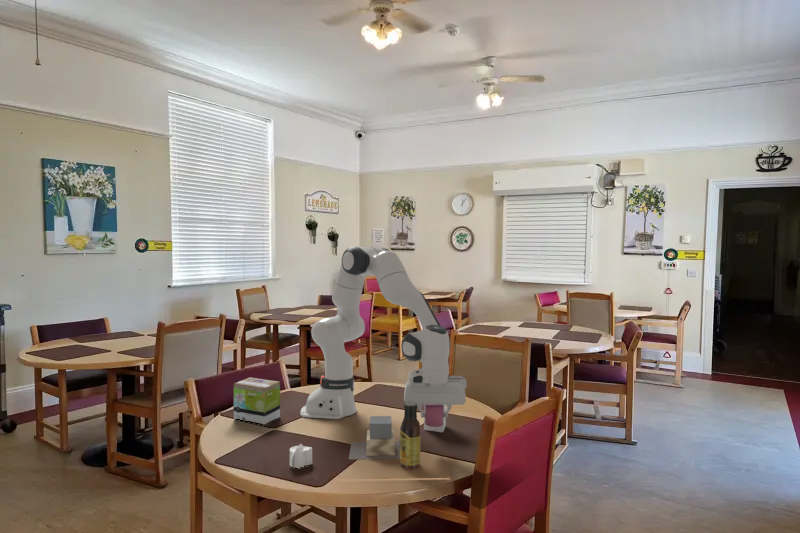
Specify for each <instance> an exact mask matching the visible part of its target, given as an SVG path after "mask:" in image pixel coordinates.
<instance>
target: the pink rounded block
mask: <svg viewBox="0 0 800 533" xmlns="http://www.w3.org/2000/svg"><path fill="white" fill-rule="evenodd" d="M443 412H444V406H443V405H431V404H426V405H425V424H426V425H427V426H430V427H440V426H442V425H443Z"/></svg>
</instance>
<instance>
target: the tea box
mask: <svg viewBox="0 0 800 533" xmlns="http://www.w3.org/2000/svg"><path fill="white" fill-rule="evenodd" d="M279 417H280V418H281V381H278V380H270V379H264V378H256V377H250V376H249V377H247V378H245V379H242V380H239V381H238V382H235V383H233V420H234V419H240V420H246V421H252V422H257V423H262V424H266V423H268V422H270V421H272V420H274V419H276V420H278V419H280V418H279ZM277 418H278V419H277ZM240 420H239V421H240ZM274 421H275V420H274Z"/></svg>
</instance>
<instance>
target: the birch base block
mask: <svg viewBox="0 0 800 533" xmlns="http://www.w3.org/2000/svg"><path fill="white" fill-rule="evenodd" d="M395 438H396V437H395V429H392V439H370V429H367V430H366V441H365V442H366V456H390V455H395V441H396V439H395Z"/></svg>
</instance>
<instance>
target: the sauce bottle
mask: <svg viewBox="0 0 800 533" xmlns="http://www.w3.org/2000/svg"><path fill="white" fill-rule="evenodd" d="M403 408H404V410H403V411H404V414H403V419H402V422H401V424H400V428H399V435H400V436H399V441H400V459H399V465H400V467H401V468H403V469H405V470H416V469H418V468H419V467H420V463H421V423H420V421H419V420H418V414H417V411H418V404H417V403H416V402H413V401H408V402H404V403H403Z"/></svg>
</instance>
